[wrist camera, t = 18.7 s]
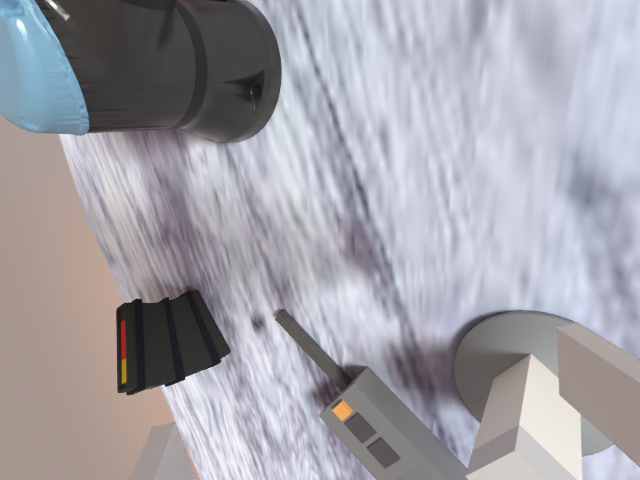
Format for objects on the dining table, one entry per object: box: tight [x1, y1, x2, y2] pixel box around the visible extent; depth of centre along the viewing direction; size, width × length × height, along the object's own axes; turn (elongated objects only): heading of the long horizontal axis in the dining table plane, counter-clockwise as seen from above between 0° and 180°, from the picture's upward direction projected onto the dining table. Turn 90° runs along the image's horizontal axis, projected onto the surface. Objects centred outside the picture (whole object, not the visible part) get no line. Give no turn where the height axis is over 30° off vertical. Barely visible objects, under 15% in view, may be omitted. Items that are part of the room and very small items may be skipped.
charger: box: [465, 354, 582, 480], centre depth 30 cm, size 5×4×12 cm
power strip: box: [275, 310, 468, 480], centre depth 45 cm, size 30×8×4 cm, turn 55°
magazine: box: [116, 290, 231, 395], centre depth 55 cm, size 4×13×15 cm, turn 34°
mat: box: [454, 311, 613, 457], centre depth 35 cm, size 14×14×1 cm
